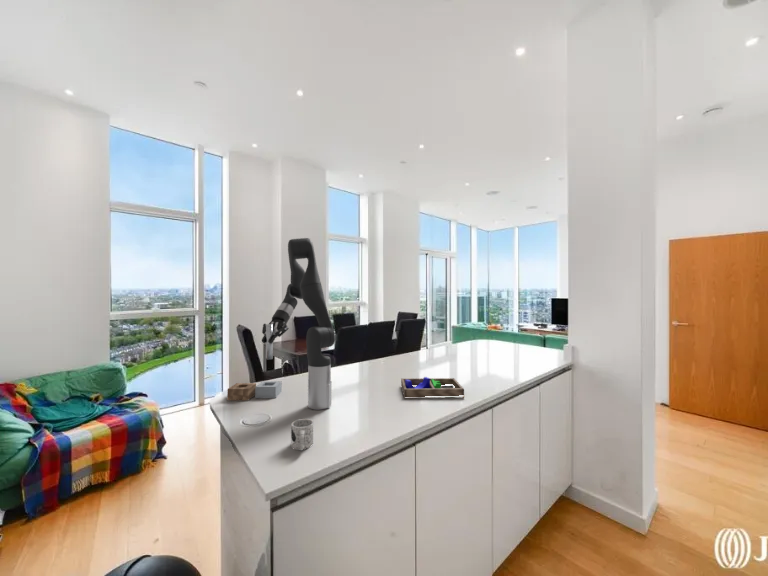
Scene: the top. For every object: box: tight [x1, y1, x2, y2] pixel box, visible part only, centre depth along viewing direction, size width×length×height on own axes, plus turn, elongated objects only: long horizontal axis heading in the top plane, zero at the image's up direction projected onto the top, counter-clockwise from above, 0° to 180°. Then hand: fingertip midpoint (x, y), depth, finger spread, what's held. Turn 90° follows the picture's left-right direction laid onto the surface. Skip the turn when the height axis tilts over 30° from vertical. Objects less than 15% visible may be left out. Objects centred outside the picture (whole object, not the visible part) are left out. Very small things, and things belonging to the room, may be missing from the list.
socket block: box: [254, 380, 283, 399], centre depth 145 cm, size 9×9×5 cm
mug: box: [290, 418, 314, 451], centre depth 96 cm, size 10×7×7 cm
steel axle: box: [265, 323, 274, 360], centre depth 145 cm, size 3×3×16 cm
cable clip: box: [405, 376, 431, 389], centre depth 150 cm, size 12×4×6 cm, turn 118°
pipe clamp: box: [432, 379, 442, 389], centre depth 151 cm, size 11×4×5 cm, turn 177°
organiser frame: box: [400, 377, 465, 398], centre depth 150 cm, size 27×18×4 cm, turn 91°
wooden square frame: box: [226, 382, 257, 401], centre depth 142 cm, size 9×9×5 cm
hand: (266, 342), depth 144 cm, fingers closed on steel axle, 3 cm apart
